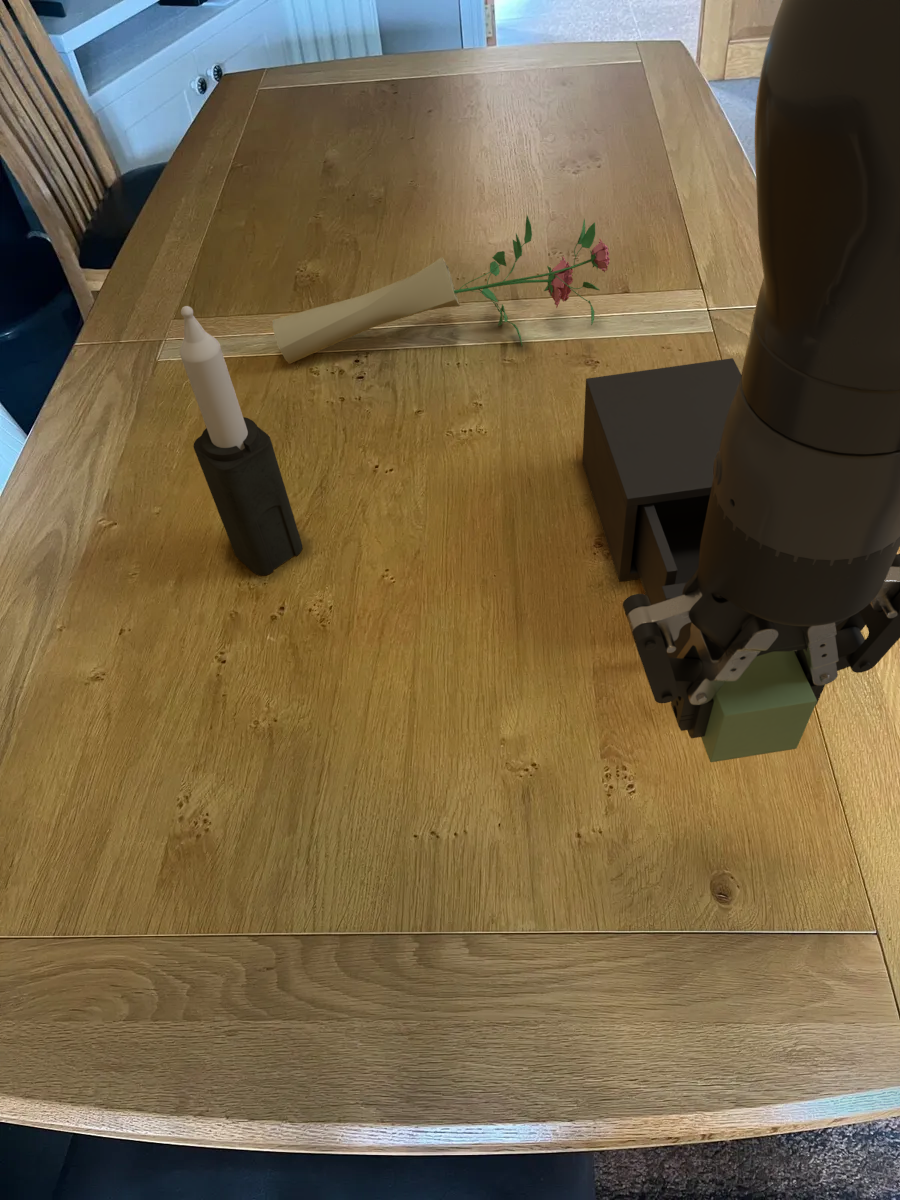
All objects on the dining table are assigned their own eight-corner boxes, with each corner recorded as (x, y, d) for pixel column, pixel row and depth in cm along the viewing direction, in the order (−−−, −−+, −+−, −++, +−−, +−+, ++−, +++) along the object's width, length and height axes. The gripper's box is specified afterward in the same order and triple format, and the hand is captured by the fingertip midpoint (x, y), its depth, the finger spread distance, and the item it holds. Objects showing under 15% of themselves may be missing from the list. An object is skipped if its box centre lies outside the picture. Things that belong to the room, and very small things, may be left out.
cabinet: (769, 560, 78) (793, 475, 71) (619, 582, 78) (627, 498, 71) (716, 444, 88) (733, 357, 80) (582, 463, 88) (585, 378, 80)
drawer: (825, 689, 69) (852, 624, 63) (670, 711, 69) (683, 648, 63) (747, 516, 81) (764, 447, 74) (614, 535, 80) (620, 467, 74)
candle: (274, 520, 86) (196, 277, 67) (308, 548, 83) (236, 304, 64) (229, 550, 84) (134, 309, 65) (261, 580, 82) (173, 338, 62)
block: (765, 676, 51) (783, 626, 48) (797, 749, 48) (817, 700, 45) (683, 689, 51) (694, 639, 48) (710, 763, 48) (723, 715, 45)
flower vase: (319, 393, 109) (610, 293, 104) (309, 435, 99) (631, 327, 94) (276, 296, 103) (584, 184, 98) (261, 331, 93) (604, 208, 87)
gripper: (660, 583, 34) (625, 800, 47) (1044, 523, 34) (902, 755, 47) (609, 445, 38) (590, 678, 52) (947, 394, 39) (843, 638, 52)
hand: (740, 714), depth 49 cm, fingers closed on block, 4 cm apart
